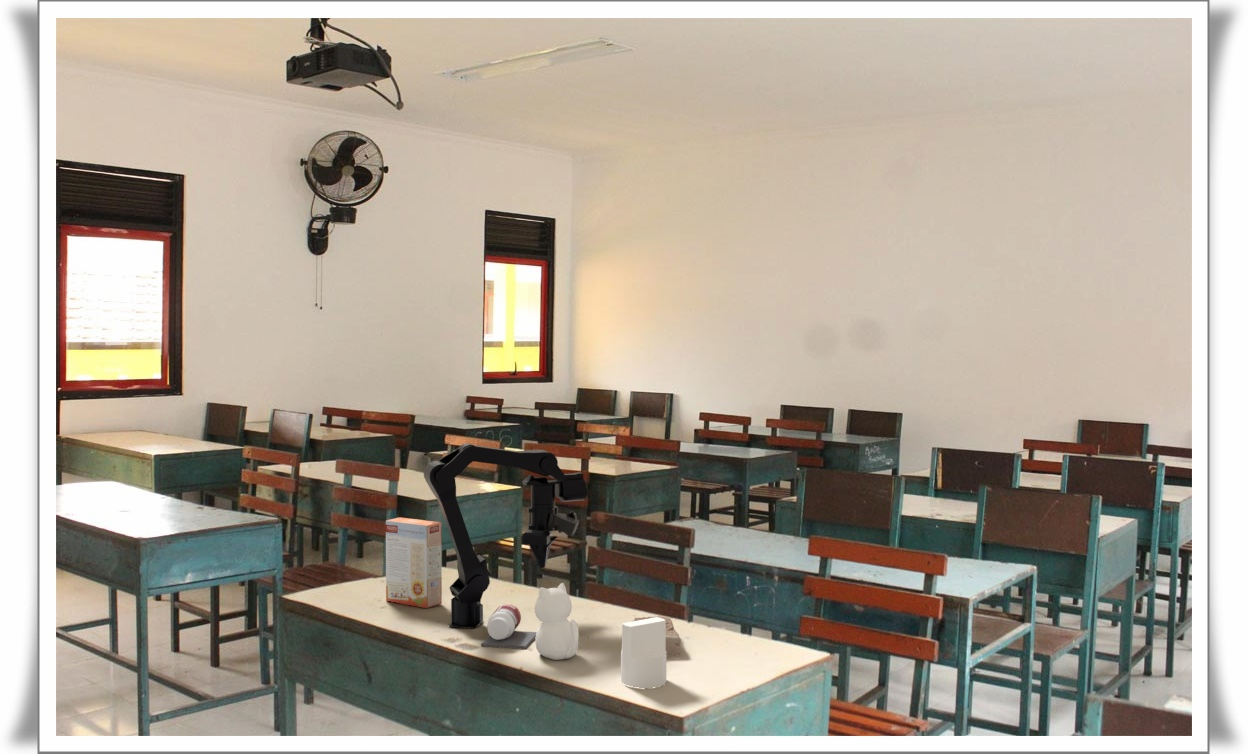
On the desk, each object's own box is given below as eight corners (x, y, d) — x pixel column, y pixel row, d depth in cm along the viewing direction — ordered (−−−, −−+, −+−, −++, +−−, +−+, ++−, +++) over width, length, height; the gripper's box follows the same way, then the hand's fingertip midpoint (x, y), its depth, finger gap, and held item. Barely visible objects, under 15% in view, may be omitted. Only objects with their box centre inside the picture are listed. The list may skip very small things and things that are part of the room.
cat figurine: (556, 646, 247) (555, 578, 246) (594, 658, 238) (594, 588, 237) (524, 655, 240) (523, 585, 240) (562, 667, 231) (561, 595, 231)
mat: (481, 646, 246) (481, 643, 246) (495, 632, 257) (495, 629, 257) (525, 648, 244) (525, 646, 244) (537, 634, 255) (537, 632, 255)
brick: (681, 657, 240) (681, 635, 240) (642, 658, 239) (642, 636, 239) (669, 635, 257) (669, 615, 256) (633, 636, 256) (633, 616, 255)
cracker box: (443, 604, 282) (442, 521, 281) (426, 609, 277) (426, 525, 276) (401, 596, 289) (401, 516, 288) (385, 601, 284) (384, 519, 283)
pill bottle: (502, 633, 258) (491, 647, 247) (490, 609, 258) (479, 622, 247) (526, 622, 257) (516, 636, 246) (514, 598, 257) (504, 611, 246)
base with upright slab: (637, 692, 217) (638, 630, 216) (612, 679, 224) (612, 620, 224) (675, 683, 222) (675, 623, 221) (649, 671, 229) (649, 613, 229)
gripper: (567, 510, 258) (567, 577, 259) (583, 497, 277) (583, 560, 278) (520, 509, 260) (520, 575, 261) (539, 496, 279) (539, 558, 280)
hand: (542, 567), depth 270 cm, fingers closed
